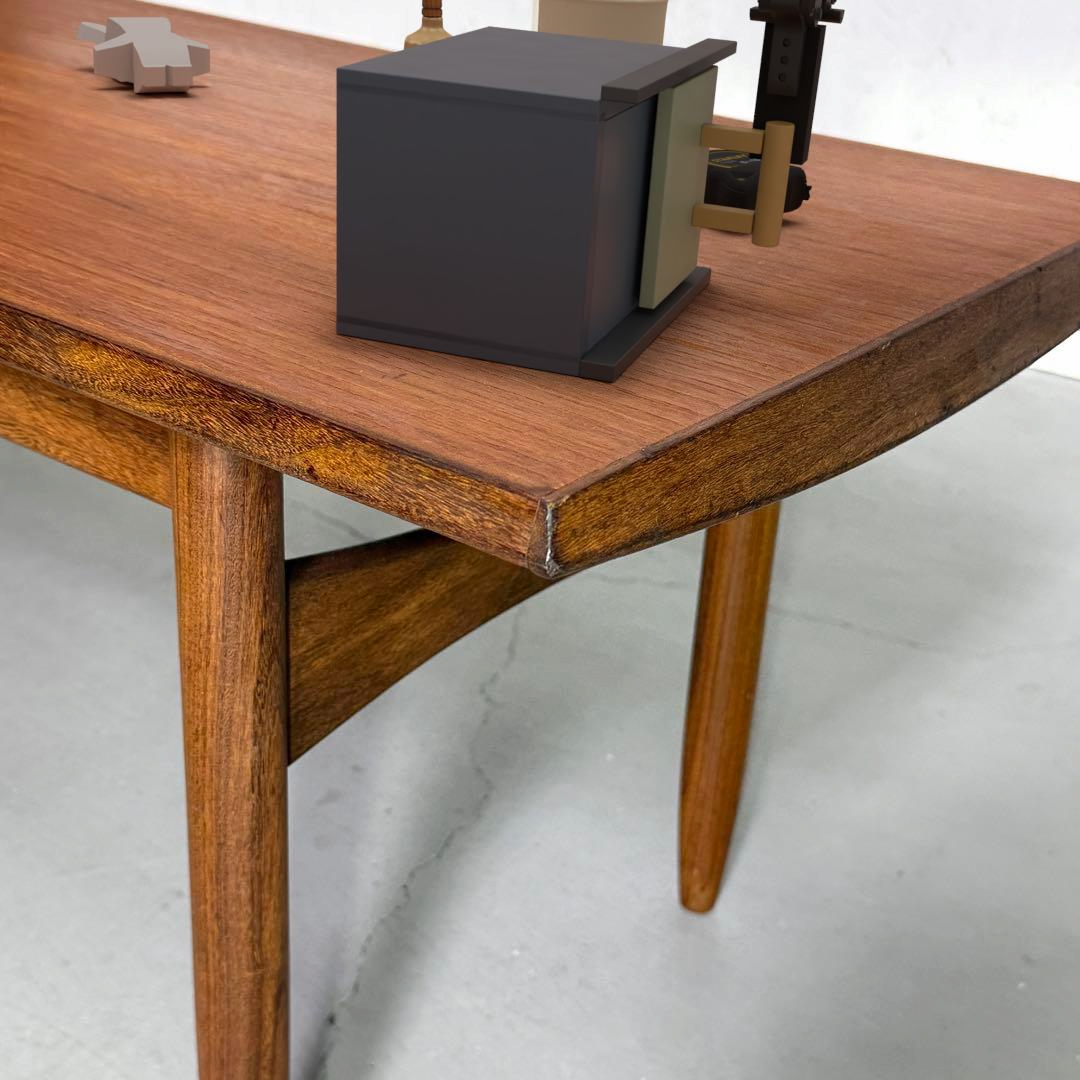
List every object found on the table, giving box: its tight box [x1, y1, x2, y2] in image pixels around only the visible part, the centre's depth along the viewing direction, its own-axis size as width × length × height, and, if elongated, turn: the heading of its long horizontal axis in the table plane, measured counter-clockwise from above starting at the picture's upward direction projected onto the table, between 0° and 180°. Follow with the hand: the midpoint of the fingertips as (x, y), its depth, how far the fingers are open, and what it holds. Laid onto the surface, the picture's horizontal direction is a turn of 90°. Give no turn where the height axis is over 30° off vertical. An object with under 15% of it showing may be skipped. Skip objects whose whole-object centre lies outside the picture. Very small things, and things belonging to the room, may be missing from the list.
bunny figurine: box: [75, 16, 211, 94], centre depth 124 cm, size 10×5×15 cm
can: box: [537, 0, 669, 46], centre depth 106 cm, size 9×9×12 cm
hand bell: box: [403, 0, 453, 50], centre depth 120 cm, size 8×8×16 cm
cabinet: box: [335, 25, 738, 383], centre depth 72 cm, size 14×18×13 cm
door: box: [639, 64, 795, 309], centre depth 73 cm, size 5×8×10 cm, turn 160°
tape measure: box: [704, 148, 813, 214], centre depth 94 cm, size 7×7×4 cm
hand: (778, 158), depth 75 cm, fingers closed
